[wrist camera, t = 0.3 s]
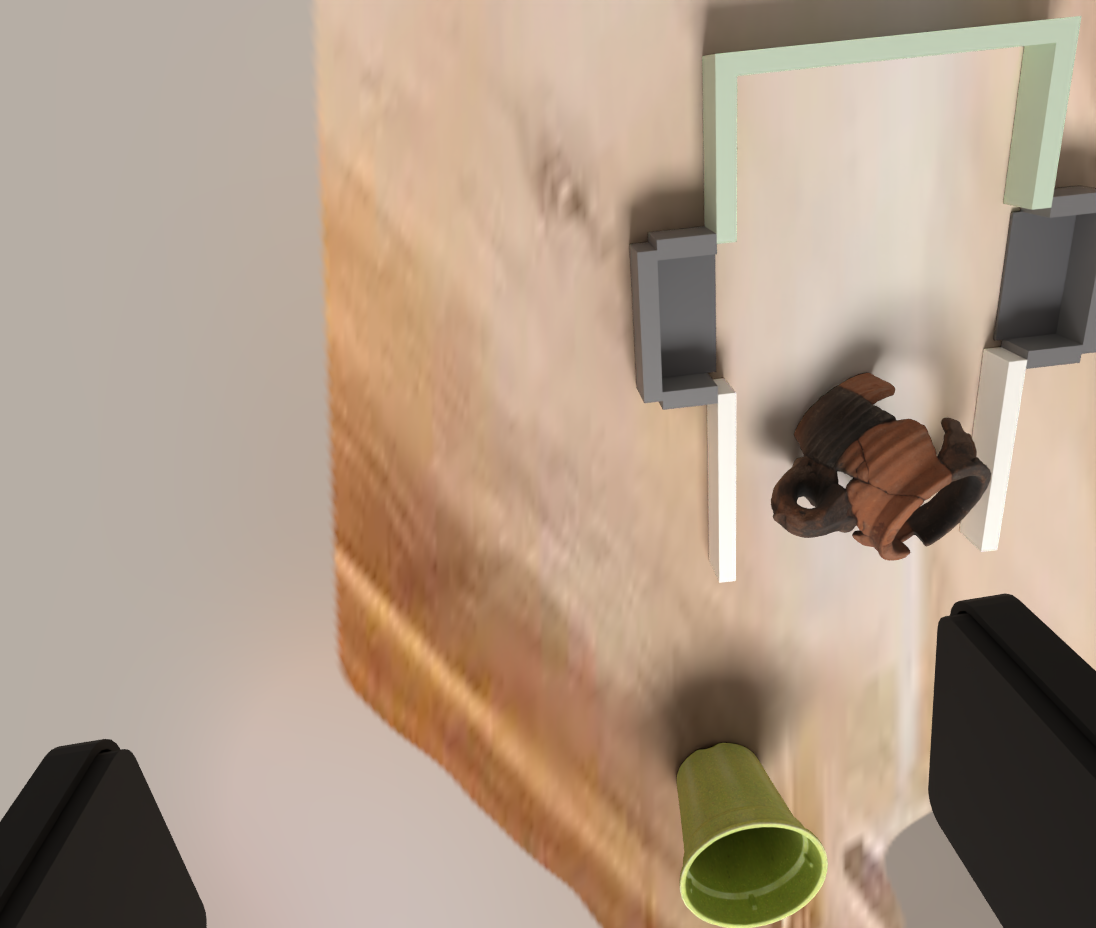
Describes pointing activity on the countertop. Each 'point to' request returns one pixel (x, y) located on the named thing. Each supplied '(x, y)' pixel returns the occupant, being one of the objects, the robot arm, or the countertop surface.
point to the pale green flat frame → (1027, 282)
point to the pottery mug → (877, 473)
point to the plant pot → (742, 842)
